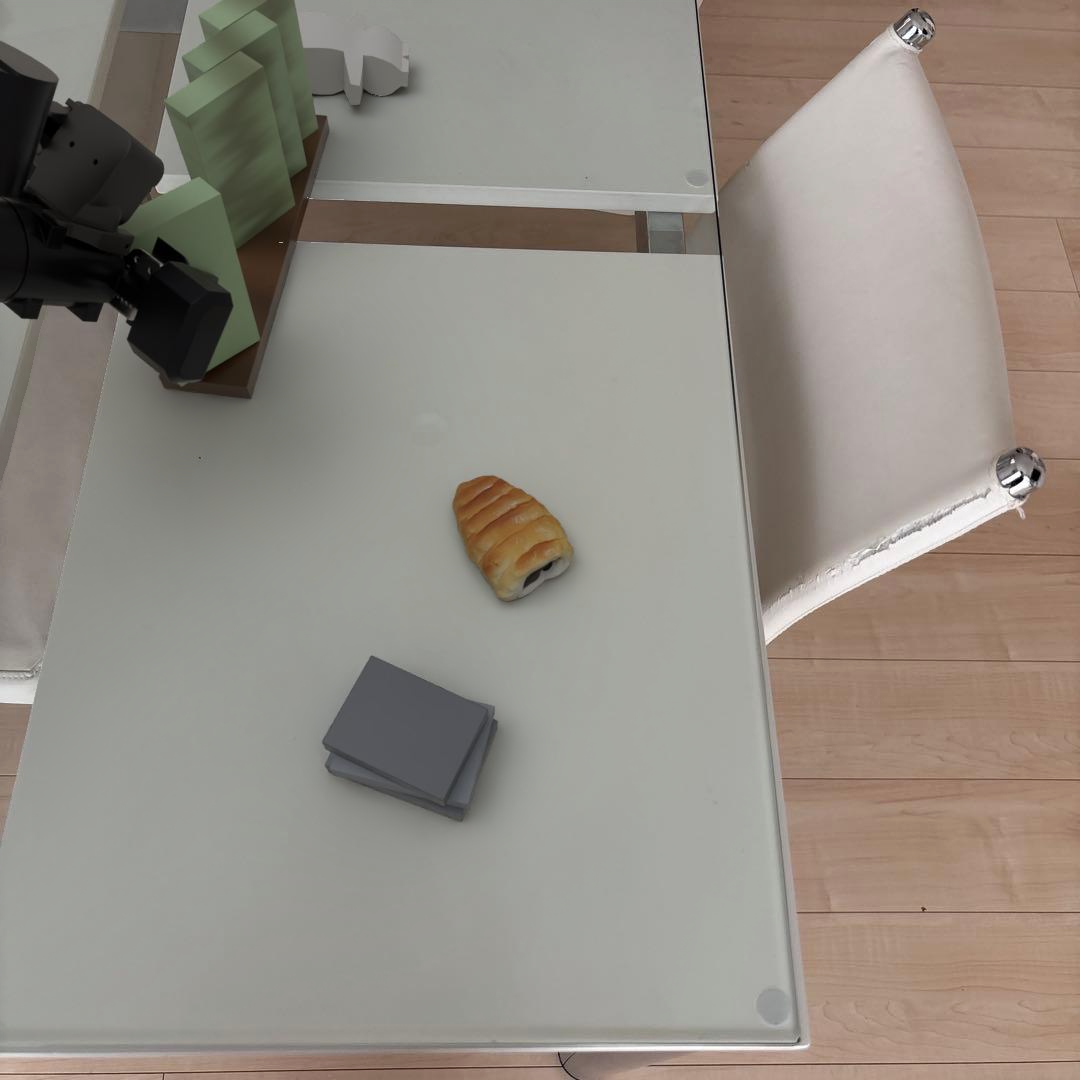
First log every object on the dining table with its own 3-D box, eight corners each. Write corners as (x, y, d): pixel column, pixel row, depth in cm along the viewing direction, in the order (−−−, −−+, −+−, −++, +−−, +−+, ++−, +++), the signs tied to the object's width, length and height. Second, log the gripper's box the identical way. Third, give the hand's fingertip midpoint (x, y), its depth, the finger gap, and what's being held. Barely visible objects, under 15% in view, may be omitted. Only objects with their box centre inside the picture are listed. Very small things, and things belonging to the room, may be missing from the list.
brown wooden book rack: (251, 399, 72) (200, 265, 59) (164, 388, 72) (94, 252, 59) (329, 129, 85) (302, -30, 72) (255, 120, 85) (214, -40, 72)
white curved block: (408, 78, 83) (227, 56, 80) (405, 126, 87) (234, 107, 85) (410, 6, 87) (238, -17, 84) (408, 56, 92) (244, 35, 89)
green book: (181, 387, 70) (125, 242, 59) (162, 369, 71) (103, 223, 60) (260, 339, 73) (220, 193, 62) (241, 323, 74) (199, 176, 63)
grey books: (325, 776, 60) (312, 757, 56) (371, 676, 63) (363, 649, 59) (463, 829, 59) (462, 814, 55) (503, 724, 62) (505, 701, 58)
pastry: (429, 514, 69) (426, 488, 65) (505, 468, 71) (507, 440, 68) (505, 614, 66) (507, 592, 62) (583, 562, 68) (588, 538, 64)
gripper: (158, 198, 47) (346, 235, 61) (-77, 23, 52) (149, 96, 66) (86, 391, 51) (278, 385, 65) (-125, 213, 56) (97, 243, 70)
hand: (200, 272), depth 66 cm, fingers closed on green book, 3 cm apart
